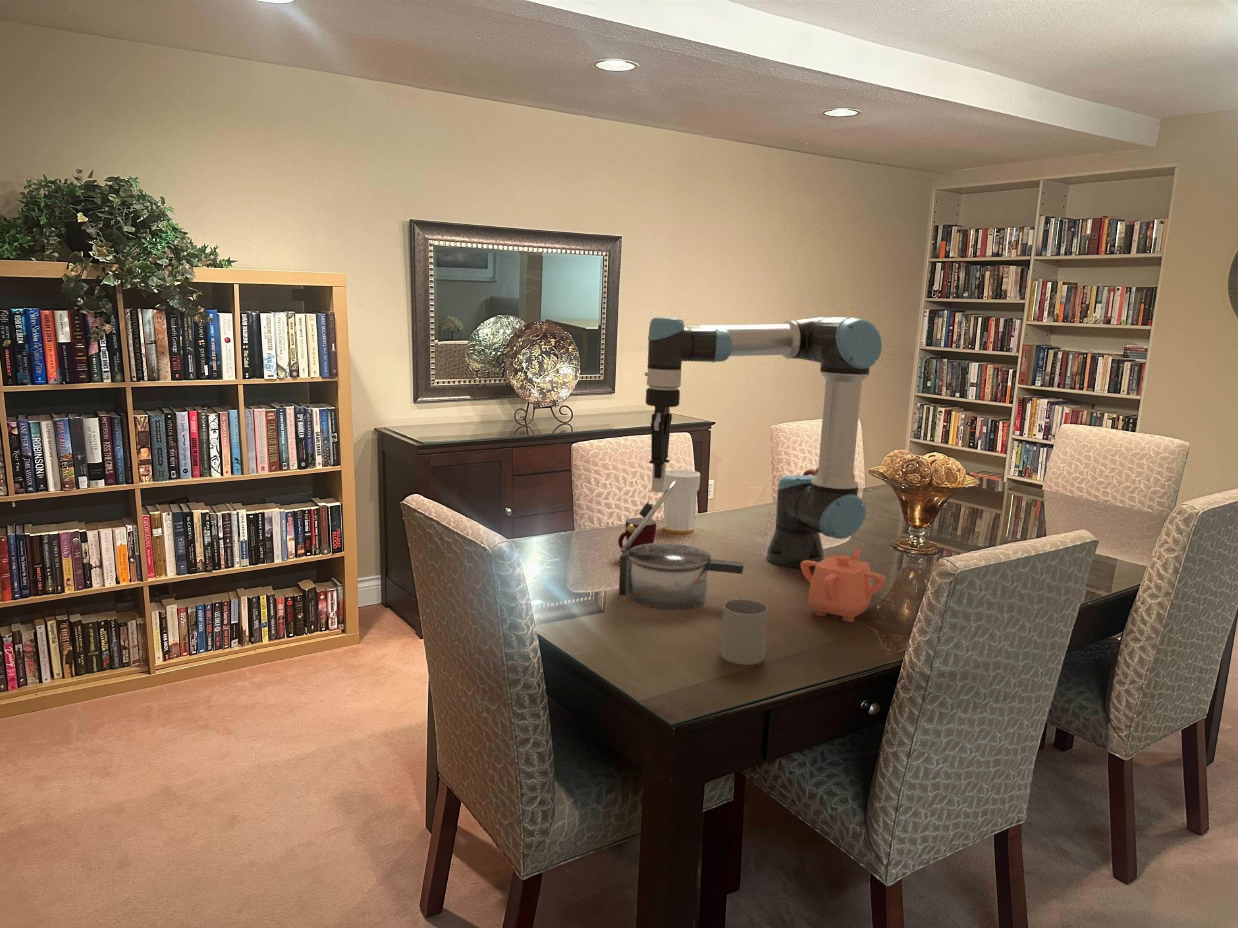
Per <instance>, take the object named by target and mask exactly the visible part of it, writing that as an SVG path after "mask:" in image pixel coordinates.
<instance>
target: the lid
mask: <svg viewBox="0 0 1238 928" xmlns="http://www.w3.org/2000/svg"><path fill="white" fill-rule="evenodd" d="M677 484H678V481H677V480H674V481H673V482H672V484H671V485H670V486H669V487H668V489H667V490H666V491H665V492H663V493H662V495H660V497H659V499H658V500H657V501H656V502H655V503H654V504H653V503H651V502H650V501H649V500H648V501H647V502H646V503H645V504H644V505H643V507H642V509H641V510H639V513H638V515H640V516H641V518H644V519H643V521H642V522H641V523H640V525H639V526H638V527H637V528H635V527H634V526H633V525H632V524H629V525H628V526H627V527H626V526H625V528H626V529H627V530H628V531H629V532H630V533H632V535H631V536H630V538H629V539H628V540H627V539H626V541H625V543H624V545H623V547H622V548H620V552H621V554H622V553H624V552H625V551H626V550H627V549H628V548H629V546H630V545H631V543H632V542H633V541H634V539H635V538H636V537H637V536H638V534H639V533H640V532H641V530H642V529H643V528H644V527H645V525H646V524H647V523H648V521H649V520H650V519H652V518H653V516H654V515H655V514H656V512H657V511H658V510H659V509H660V507H661V506H662V505H663V504H664V501H665V499H666V498H667V497H668V496H669V494H670V493H671V492H672V490H673V489H674V488H675V486H676V485H677Z"/></svg>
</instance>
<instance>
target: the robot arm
mask: <svg viewBox="0 0 1238 928" xmlns="http://www.w3.org/2000/svg"><path fill="white" fill-rule="evenodd" d="M684 323H685V321H684V320H683V318H678V317H676V318H675V317H653V318H651V320H650V323H649V327H648V328H649V329H648V330H649V331H648V337H647V339H648V346H647V347H648V350H647V371H645V372H644V376H645V377H647V378H646V385H647V386H648V388H647V389H646V390H645V404H646V405H647V406H649V407H654V410H653V411H654V412H653V413H652V414H651V422H650V428H651V429H650V430H651V431H650V432H651V435H650V436H651V450H650V452H651V458H650V460H648V461H649V464H652V473H651V474H652V477H651V492H652V493H661V494H664V490H665V470H667V469H666V468H667V464H666V463H668V464H670V459H669V458H668V457H669V444H670V434H671V425H672V419H673V416H672V415H673V414H672V413H670V411H671V409H670V408H676V407H678V406H680V396H681V391H680V389H679V388H680V387H681V385H682V383H681V381H682V363H683V362H701V363H702V362H706V363H707V362H709V363H711V362H712V363H718V362H719V363H720V362H722V363H723V362H725V361H727V360H728V359H729V357H745V356H746V357H748V356H749V357H750V356H751V357H752V356H753V357H754V356H755V357H756V356H782V357H783V358H785V359H787V360H788V359H789V360H790V359H794V360H796V359H797V360H804V361H811V362H815V363H819V364H820V369H819V373H820V374H821V375H822V376H823V378H824V380H825V383H824V384H825V385H824V387H825V388H824V399H823V407H822V408H823V409H822V410H823V411H822V421H821V433H820V445H819V454H818V455H819V457H818V467H817V468H818V475H817V476H813V475H803V474H799V475H787V476H782V477H781V478H780V479H779V481H778V485H777V490H776V493H777V494H776V495H777V497H776V498H777V499H776V513H775V514H776V515H775V529H774V532H773V535H772V538H771V540H770V542H769V545H768V547H767V551H766V559H767V560H768V561H769V562H771V563H773V564H776V565H779V566H783V567H788V568H797V569H798V568H799V569H801V566H800V565H801V562H802V561H805V560H809V561H815V562H820V561H822V560H823V559H825V551H824V548H823V543H822V540H821V536H820V534H822V535H824V536H825V537H828V538H834V539H837V540H844V539H847V538H849V537H851V536H853V535H854V534H856V532H857V531H859V529H860V528H861V527H862V526H863V523H864V521H865V519H866V514H867V511H866V510H867V509H866V505H865V503H864V502H863V499H862V498H861V497H859V483H858V482H857V481H856V480H854V479H855V477H854V478H853V473H854V470H855V469H854V467H855V460H856V459H855V458H856V449H857V448H856V447H857V436H858V428H859V427H858V426H859V415H860V414H859V413H860V404H861V394H862V383H863V382H864V380H865V379H867V378H868V377H869V376H870V368H871V367H872V366H874V365H875V364H876V362H877V360H879V358H880V355H881V353H882V346H883V343H882V337H881V334H880V332H879V330H878V328H876V326H875V325H874V324H873V323H872V322H871V321H869V320H867V319H863V318H858V317H854V316H852V317H843V316H841V317H838V316H837V317H835V316H818V317H813V318H805V319H804V318H803V319H794V320H791V319H790V320H785V321H784V322H783V323H782V324H729V325H728V324H723V325H721V324H720V325H719V324H718V325H717V324H713V325H711V324H710V325H707V324H706V325H685V324H684ZM812 568H816V567H815V566H809V569H812Z"/></svg>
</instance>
